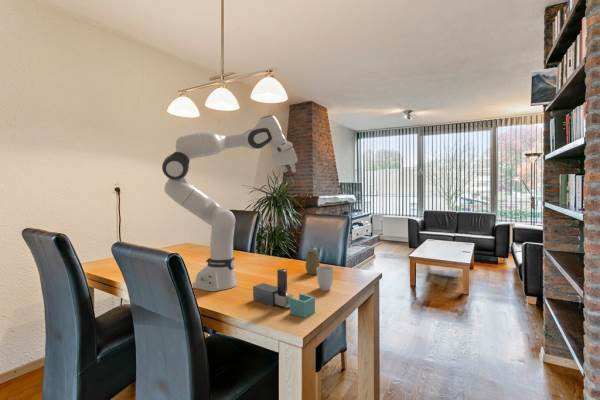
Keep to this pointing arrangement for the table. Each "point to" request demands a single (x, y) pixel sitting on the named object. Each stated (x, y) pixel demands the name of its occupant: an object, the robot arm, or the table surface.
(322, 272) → the cup
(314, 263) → the squeeze bottle
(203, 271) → the robot arm
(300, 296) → the socket
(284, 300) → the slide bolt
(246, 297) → the table surface
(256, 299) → the sleeve
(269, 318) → the table surface
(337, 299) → the table surface
